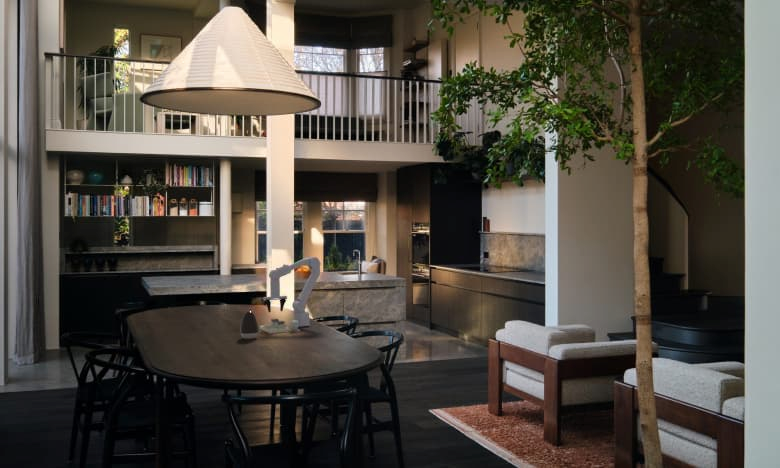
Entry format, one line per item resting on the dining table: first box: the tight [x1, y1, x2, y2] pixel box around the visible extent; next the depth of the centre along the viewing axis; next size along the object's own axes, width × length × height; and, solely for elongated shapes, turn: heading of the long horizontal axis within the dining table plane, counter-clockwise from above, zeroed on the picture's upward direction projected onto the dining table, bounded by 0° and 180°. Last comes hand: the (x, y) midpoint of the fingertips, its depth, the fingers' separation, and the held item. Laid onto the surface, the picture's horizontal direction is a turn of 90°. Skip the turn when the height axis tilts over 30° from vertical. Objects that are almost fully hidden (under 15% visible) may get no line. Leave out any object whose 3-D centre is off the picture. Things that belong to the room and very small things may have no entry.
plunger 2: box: [277, 320, 286, 325], centre depth 419 cm, size 4×4×3 cm
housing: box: [259, 320, 290, 334], centre depth 422 cm, size 12×19×4 cm, turn 28°
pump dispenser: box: [239, 311, 260, 340], centre depth 395 cm, size 10×10×15 cm
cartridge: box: [290, 319, 299, 331], centre depth 418 cm, size 4×4×6 cm
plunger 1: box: [270, 317, 280, 322], centre depth 429 cm, size 4×4×3 cm
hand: (275, 311), depth 432 cm, fingers open, 7 cm apart
